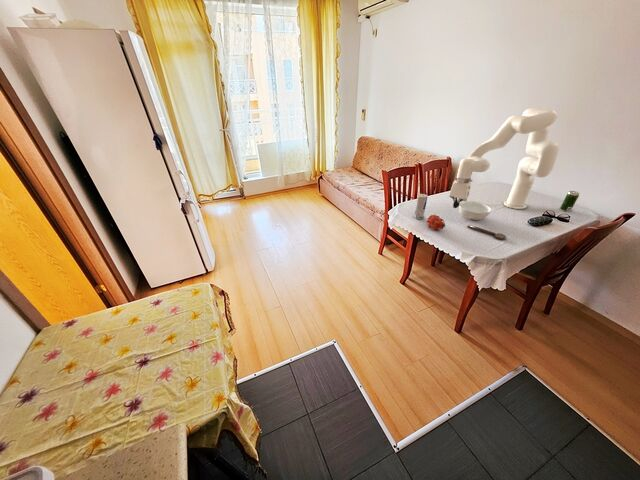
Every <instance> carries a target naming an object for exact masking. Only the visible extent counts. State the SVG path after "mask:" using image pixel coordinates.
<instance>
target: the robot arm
mask: <svg viewBox="0 0 640 480" xmlns="http://www.w3.org/2000/svg"><path fill="white" fill-rule="evenodd" d="M557 119H558V113H557V111H556V110H554V109H549V108H541V107H530V108H527V109H525V110H524V111H523V113H522V115H521V114H513V115H511V116H510V117H508V118H507V119H506V120H505V122H503V124H502V125H501V126H500V128H498V130H497V131H496V132H495V133H494V134H493V136H492V137H491V138H490V139H488V140H486V141H484V142H483V143H481V144H479V145H478V146H477V147H475V148H474V149H473V151H472V152H471V153H470V154H469V156H468V157H466V158H463V159H461V160H460V162H459V167H458V169H457V174H456V178H455V180H454V181H453V183H452V185H451V188H450V191H449V195H448V196H449V198H451V199H452V200H453V204H452V208H454V209H457V208H459V206H460V204H461V203H462V202H467V201H468V198H469V196H470V192H471V185H472V182H473V179H472V174H473V173H484V172H486V171H488V170H489V169H490V165H491V163H490V161H489V160H487V159H486V158H484V157H483V156H484V155H485V154H487V153H488V152H491V151H494V150H498V149H502V148H505V147H506V145H507V144H509V142H510V141H511V140H512V139H513V138H514V136H515V135H516V134H522V135H527V134H528V138H527V142H526V147H525V153H526V154H527V155H528V156H525V157H523V158H522V159H521V160H520V161H519V163H518V166H517V172H516V176H515V178H514V182H513V184H512V187H511V190H510V192H509V194H508V198H507V200H504V201H503V205H504V206H505V207H507V208H510V209H515V210H523V209H526V208H527V206H528V204H526V201H527V199H528V197H529V195H530V192H531V189H532V187H533V185H534V182H535V178H536V177H537V178H541V179H542V178H546V177H548V176H549V175H550V174H552V173H551V172H552V171H553V169H554V167H555V164H556V160H557V157H558V155H559V151H560V147H559V144H558V143H557V142H556V141H552V140H549V139H548V138H549V133H550V127H551V126H552V125H553V124H555V122H556V121H557ZM482 157H483V158H482Z"/></svg>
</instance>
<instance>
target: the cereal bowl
mask: <svg viewBox="0 0 640 480" xmlns="http://www.w3.org/2000/svg"><path fill="white" fill-rule="evenodd" d="M458 211H459V214H460V215H462V216H463V217H465V218H466V219H468V220H473V221H475V220H476V221H477V220H484V219H486V218H488V216H489V215H490V213H491V211H492V209H491V207H490V206H489V205H487V204H485V203H484V202H483V203H482V202H480V201H472V200H471V201H469V200H467V201H461V202H460V203H459V207H458Z"/></svg>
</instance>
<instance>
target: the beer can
mask: <svg viewBox="0 0 640 480" xmlns="http://www.w3.org/2000/svg"><path fill="white" fill-rule="evenodd" d="M580 194H581V193H580V192H579V191H575V190H569V191H568V192H567V193H566V196H565V197H564V199H563V201H562V203H561V205H560V207H559V210H560V211H561V212H565V213H570V212H571V211H572V210H573V208H574V206H575V204H576V202H577V200H578V198H579V197H580Z"/></svg>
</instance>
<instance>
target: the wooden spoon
mask: <svg viewBox="0 0 640 480" xmlns="http://www.w3.org/2000/svg"><path fill="white" fill-rule="evenodd" d="M467 228H469V229H472V230H475V231H478V232H480V233H483V234H484V233H485V234H487V235H490V236H493V237H494V238H495V239H497V240H499V241H505V240H507V239H506V238H507V235H505V234H503V233H500V232H498V233H497V232H495V231H491V230H487V229H485V228H481V227H479V226H475V225H472V224H468V225H467Z"/></svg>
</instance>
